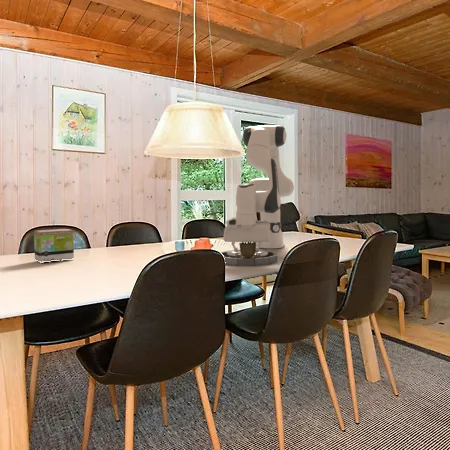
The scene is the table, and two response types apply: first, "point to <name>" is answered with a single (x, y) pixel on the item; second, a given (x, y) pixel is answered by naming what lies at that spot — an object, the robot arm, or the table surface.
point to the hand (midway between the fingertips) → (246, 251)
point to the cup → (248, 249)
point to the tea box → (53, 244)
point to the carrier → (256, 260)
